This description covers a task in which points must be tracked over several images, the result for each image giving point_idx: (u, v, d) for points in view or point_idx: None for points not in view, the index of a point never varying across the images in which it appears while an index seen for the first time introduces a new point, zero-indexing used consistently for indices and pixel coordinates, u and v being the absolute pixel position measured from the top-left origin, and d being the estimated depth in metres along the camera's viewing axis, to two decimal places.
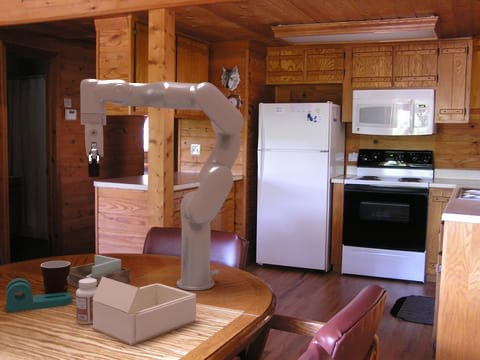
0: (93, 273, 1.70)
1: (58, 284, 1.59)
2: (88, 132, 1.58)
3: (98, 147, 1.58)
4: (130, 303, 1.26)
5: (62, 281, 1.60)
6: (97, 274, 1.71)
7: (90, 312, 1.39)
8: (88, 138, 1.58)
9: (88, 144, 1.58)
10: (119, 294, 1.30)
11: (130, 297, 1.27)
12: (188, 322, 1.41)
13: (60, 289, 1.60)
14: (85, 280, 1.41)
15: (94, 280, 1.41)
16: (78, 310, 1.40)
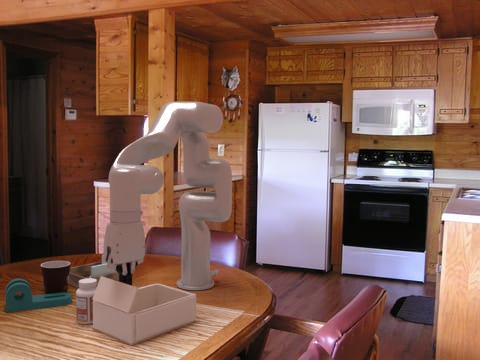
0: (92, 273, 1.70)
1: (58, 284, 1.59)
2: None
3: None
4: (129, 303, 1.26)
5: (62, 281, 1.60)
6: (96, 274, 1.71)
7: (90, 312, 1.39)
8: None
9: None
10: (118, 294, 1.30)
11: (129, 296, 1.27)
12: (188, 322, 1.41)
13: (60, 289, 1.60)
14: (85, 280, 1.41)
15: (94, 280, 1.41)
16: (78, 310, 1.40)
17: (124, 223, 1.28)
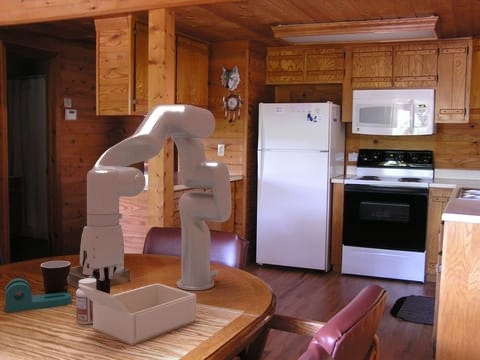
0: None
1: (58, 284, 1.59)
2: None
3: None
4: (121, 308, 1.24)
5: (62, 281, 1.60)
6: None
7: (90, 312, 1.39)
8: None
9: None
10: (106, 300, 1.27)
11: (116, 303, 1.24)
12: (188, 322, 1.41)
13: (60, 289, 1.60)
14: (85, 280, 1.41)
15: (94, 280, 1.41)
16: (78, 310, 1.40)
17: (101, 226, 1.23)
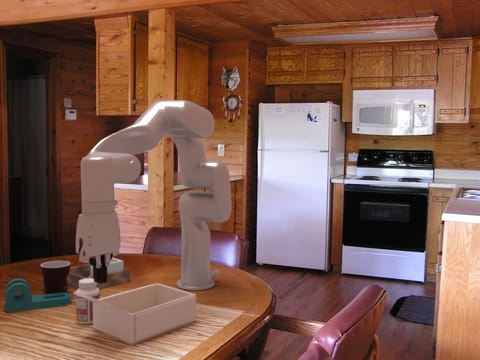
0: (91, 273, 1.70)
1: (58, 284, 1.59)
2: None
3: None
4: (120, 311, 1.24)
5: (62, 281, 1.60)
6: None
7: (90, 312, 1.39)
8: None
9: None
10: (103, 305, 1.26)
11: (113, 308, 1.24)
12: (188, 322, 1.41)
13: (60, 289, 1.60)
14: (85, 280, 1.41)
15: None
16: (78, 310, 1.40)
17: (96, 214, 1.22)
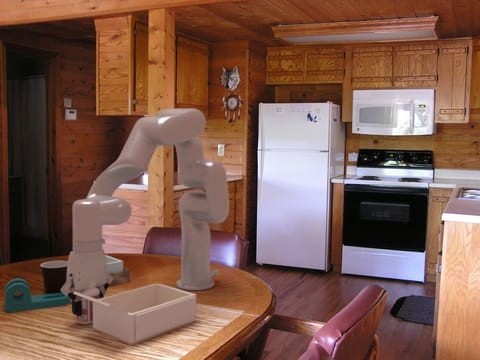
0: None
1: (58, 284, 1.59)
2: None
3: None
4: (120, 311, 1.24)
5: (62, 281, 1.60)
6: None
7: (90, 312, 1.39)
8: None
9: None
10: None
11: (113, 308, 1.24)
12: (188, 322, 1.41)
13: (60, 289, 1.60)
14: None
15: None
16: None
17: (85, 252, 1.37)
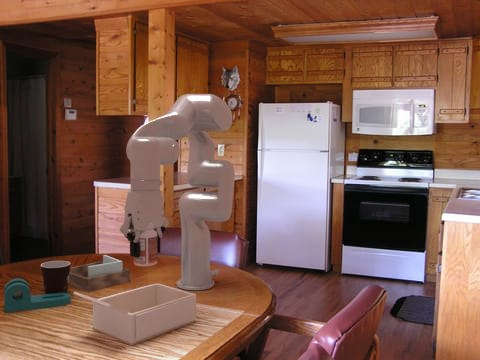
0: (89, 273, 1.70)
1: (58, 284, 1.59)
2: None
3: None
4: (120, 311, 1.24)
5: (62, 281, 1.60)
6: (93, 274, 1.71)
7: (149, 254, 1.35)
8: None
9: None
10: None
11: (113, 308, 1.24)
12: (188, 322, 1.41)
13: (60, 289, 1.60)
14: None
15: None
16: None
17: (144, 191, 1.32)
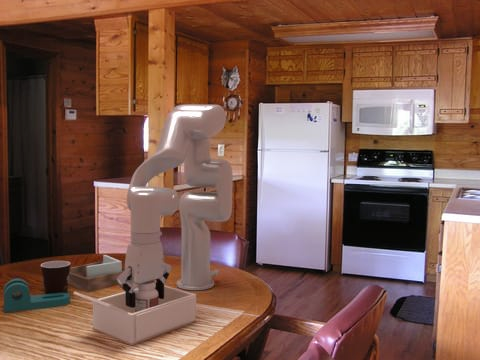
0: (87, 273, 1.70)
1: (58, 284, 1.59)
2: None
3: None
4: (120, 311, 1.24)
5: (62, 281, 1.60)
6: (92, 274, 1.71)
7: None
8: None
9: None
10: None
11: (113, 308, 1.24)
12: (188, 322, 1.41)
13: (60, 289, 1.60)
14: None
15: (153, 282, 1.39)
16: None
17: (144, 244, 1.34)
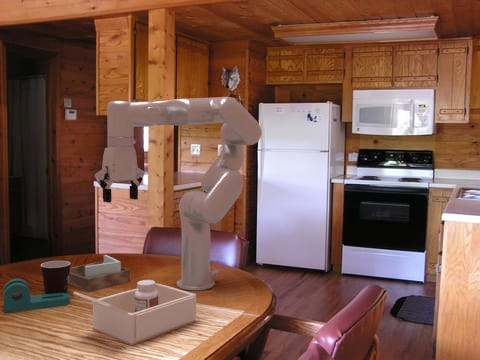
0: (85, 273, 1.70)
1: (58, 284, 1.59)
2: None
3: None
4: (120, 311, 1.24)
5: (62, 281, 1.60)
6: (90, 274, 1.71)
7: None
8: None
9: None
10: None
11: (113, 308, 1.24)
12: (188, 322, 1.41)
13: (60, 289, 1.60)
14: (143, 282, 1.39)
15: (153, 282, 1.39)
16: None
17: (119, 146, 1.52)
